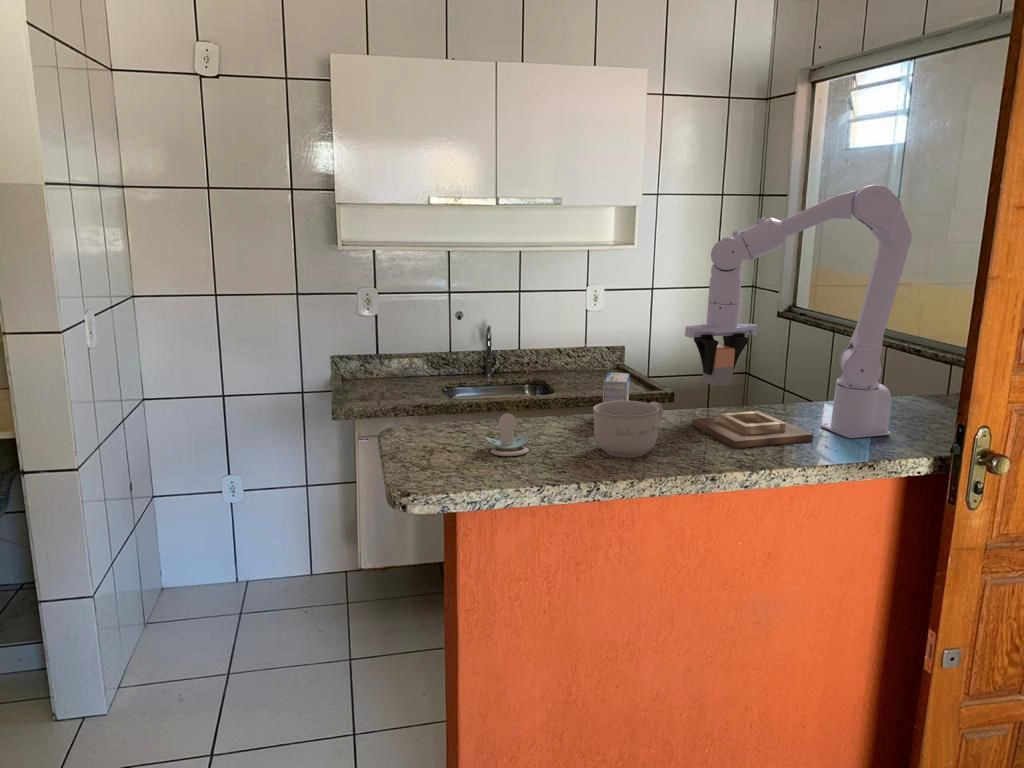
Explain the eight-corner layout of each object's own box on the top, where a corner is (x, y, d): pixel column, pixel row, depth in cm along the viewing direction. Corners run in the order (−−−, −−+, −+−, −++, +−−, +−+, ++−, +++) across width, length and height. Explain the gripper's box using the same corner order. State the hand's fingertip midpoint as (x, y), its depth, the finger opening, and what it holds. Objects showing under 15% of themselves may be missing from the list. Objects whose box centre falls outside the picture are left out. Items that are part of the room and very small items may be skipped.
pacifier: (534, 457, 124) (524, 444, 130) (536, 420, 123) (525, 409, 128) (491, 460, 122) (482, 447, 128) (492, 423, 121) (483, 412, 126)
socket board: (764, 419, 148) (765, 405, 147) (812, 440, 135) (814, 426, 134) (691, 425, 143) (692, 411, 142) (734, 448, 130) (736, 432, 130)
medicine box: (625, 428, 141) (628, 382, 139) (601, 426, 141) (603, 380, 139) (627, 416, 148) (630, 373, 146) (604, 414, 149) (607, 371, 147)
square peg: (720, 379, 150) (723, 344, 148) (732, 384, 146) (735, 348, 144) (702, 380, 148) (705, 345, 147) (713, 385, 145) (716, 349, 143)
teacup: (615, 467, 120) (618, 418, 118) (578, 447, 129) (580, 401, 127) (685, 455, 126) (688, 408, 124) (645, 437, 135) (647, 393, 133)
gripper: (744, 299, 149) (738, 366, 153) (678, 300, 145) (674, 370, 148) (766, 303, 143) (759, 374, 146) (698, 305, 139) (693, 378, 142)
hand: (718, 373), depth 147 cm, fingers closed on square peg, 4 cm apart
